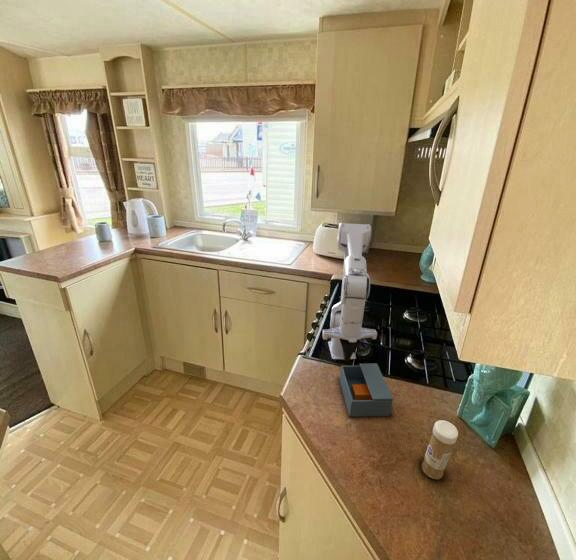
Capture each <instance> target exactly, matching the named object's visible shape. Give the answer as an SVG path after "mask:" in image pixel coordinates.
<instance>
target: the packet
mask: <svg viewBox="0 0 576 560" xmlns="http://www.w3.org/2000/svg"><path fill="white" fill-rule="evenodd" d="M351 392H352V395H353V398H354V400H373V399H372V397H371V394H370V391H369V389H368V386H367V384H352V388H351Z"/></svg>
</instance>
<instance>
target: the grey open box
mask: <svg viewBox="0 0 576 560" xmlns="http://www.w3.org/2000/svg"><path fill="white" fill-rule="evenodd" d="M339 383H340V386H341V390H342V394H343V398H344V401H345V406H346V409H347V413H348V416H349V417H350V418H351V417H387V416H388V417H389V416H390V414H391V409H392V405H393V402H394V400H354V398H353V395H352V392H351V388H352V384H367V383H366V381H365V378H364V375H363V373H362V370H361V367H360V365H341V366H340V373H339Z"/></svg>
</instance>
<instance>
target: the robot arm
mask: <svg viewBox="0 0 576 560" xmlns="http://www.w3.org/2000/svg"><path fill="white" fill-rule="evenodd" d="M337 231H338V232H337V245H336V246H337V249H338V251H341V252H342V255H343V267H342V268H343V269H342V282H341V292H340V301H339V302H337V303H336V304H334V305H333V306H332V307H331V313H330V321H329V328H328V329H322V339H323V341H324V340H325V341H326V340H328V339H330V341H327V345H328V348H329V352H330V355H331V356H330V357H331V359H332V360H344V362H350V361H351V360H356V359H357V356H356V353H355V351H357V349H358V348H359V347H360V346H361V340H362V339H372V340H377V337H378V332H377V330H376V329H375V328H374V329H373V328H367V327H362V326H363V320H364V313H365V307H366V300H368V298H369V296H370V291H371V278H370V275H369V273H367V271H368V270H367V260H366V258H365V257H364V256H363V253H364V252H366V251H367V249H368V247H369V244H370V242H371V237H372V226H371V224H369V223H367V224H365V223H363V224H362V223H348V222H347V223H345V222H340V223H339V224H338V230H337Z"/></svg>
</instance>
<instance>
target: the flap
mask: <svg viewBox="0 0 576 560" xmlns="http://www.w3.org/2000/svg"><path fill="white" fill-rule="evenodd" d="M359 366H360V367H361V370H362V373H363V375H364V378H365V381H366V383H367V386H368V389H369V391H370V394H371V397H372V399H373V400H393V399H394V398H393V396H392V393H391V391H390V389H389V386H388V385H387V382H386V380H385V378H384V375H383V374H382V371H381V369H380V366H379V364H378V363H377V362H375V363H374V362H373V363H371V362H370V363H359ZM393 401H394V400H393Z"/></svg>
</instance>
